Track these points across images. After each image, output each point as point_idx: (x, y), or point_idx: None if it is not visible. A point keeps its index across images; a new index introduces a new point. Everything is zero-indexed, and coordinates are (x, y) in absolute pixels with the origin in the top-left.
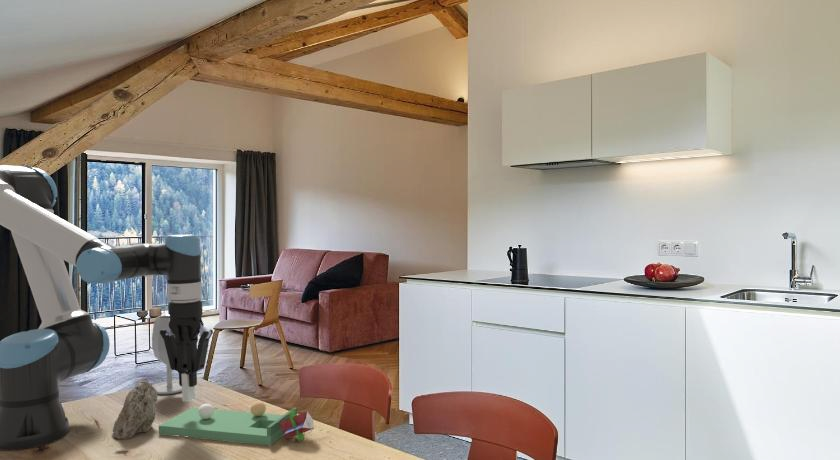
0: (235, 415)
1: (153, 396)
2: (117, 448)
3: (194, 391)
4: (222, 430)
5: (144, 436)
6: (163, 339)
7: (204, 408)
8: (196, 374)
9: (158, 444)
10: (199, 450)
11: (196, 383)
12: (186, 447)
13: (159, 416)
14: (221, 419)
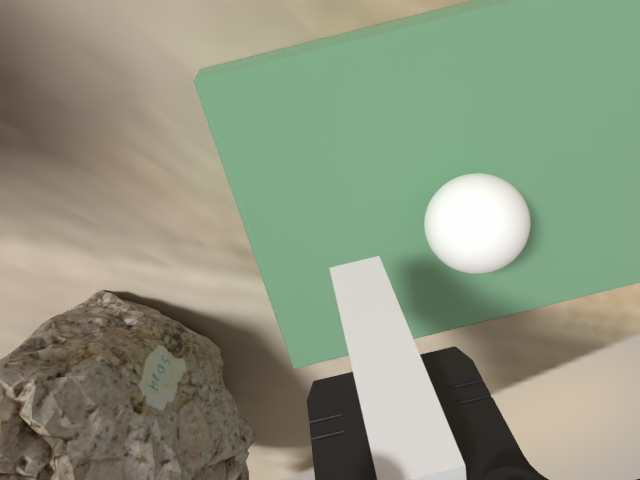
0: (606, 69)
1: (121, 423)
2: (273, 460)
3: (394, 293)
4: (635, 272)
5: (254, 374)
6: None
7: (502, 267)
8: (518, 448)
9: None
10: (567, 350)
11: (471, 366)
12: (503, 357)
13: (21, 188)
14: (552, 168)
